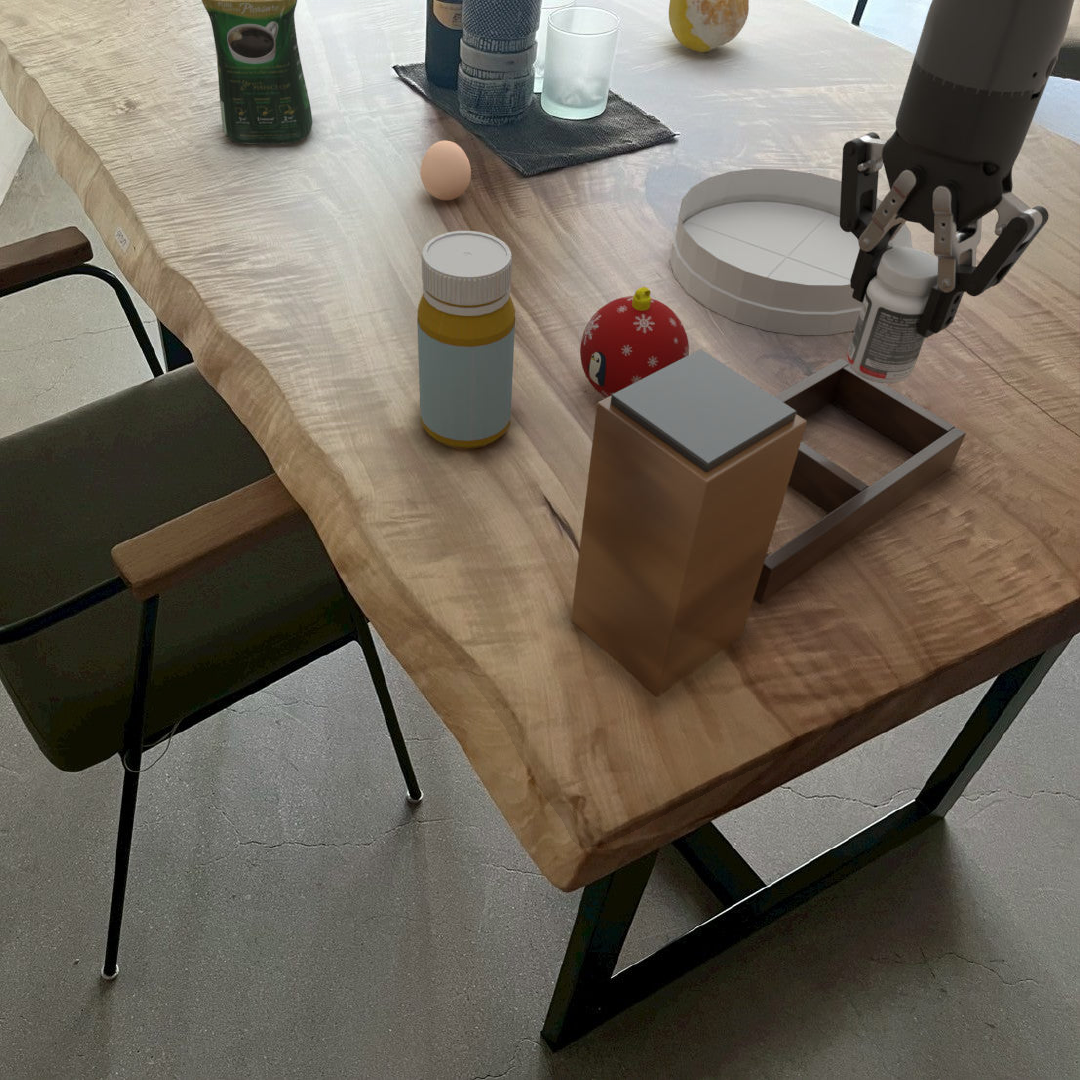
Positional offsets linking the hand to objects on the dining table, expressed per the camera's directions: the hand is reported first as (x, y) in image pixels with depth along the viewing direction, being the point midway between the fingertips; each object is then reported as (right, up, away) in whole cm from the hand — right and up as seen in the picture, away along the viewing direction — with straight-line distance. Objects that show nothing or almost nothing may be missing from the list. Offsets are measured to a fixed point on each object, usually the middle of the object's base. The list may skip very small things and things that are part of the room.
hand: (896, 313), depth 72 cm
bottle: (-30, -7, +10) cm, 33 cm away
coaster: (-16, -9, -16) cm, 25 cm away
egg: (-34, +19, +35) cm, 53 cm away
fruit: (-3, +50, +68) cm, 84 cm away
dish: (-1, +10, +29) cm, 31 cm away
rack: (-5, -12, +7) cm, 14 cm away
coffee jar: (-55, +29, +44) cm, 76 cm away
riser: (-17, -21, -4) cm, 28 cm away
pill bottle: (0, -3, +3) cm, 5 cm away
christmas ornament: (-17, -4, +14) cm, 23 cm away
